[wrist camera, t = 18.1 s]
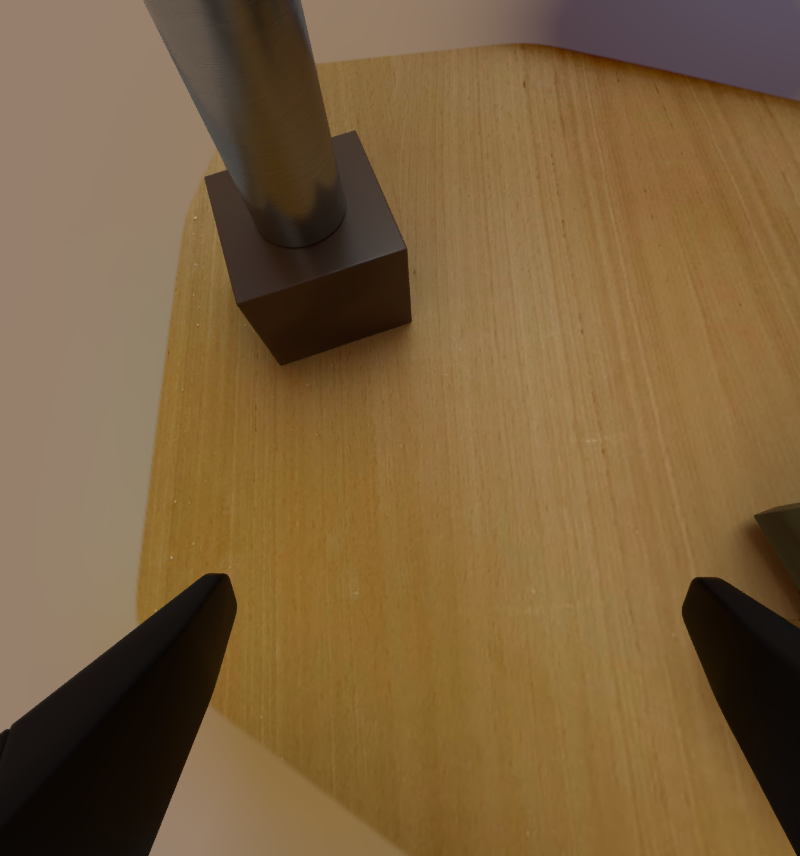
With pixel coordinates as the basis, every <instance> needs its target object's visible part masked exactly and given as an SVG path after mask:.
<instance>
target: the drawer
mask: <svg viewBox="0 0 800 856" xmlns="http://www.w3.org/2000/svg"><path fill="white" fill-rule="evenodd" d="M754 517H755V519H756V521H757V522H758V524H759V525H760V527H761V529H762V530H763V532H764V534H765V535H766V537H767V538H768V540H769V542H770V543H771V545H772V547H773V548H774V550H775V551H776V553H777V555H778V556H779V558H780V560H781V561H782V563H783V564H784V566H785V568H786V569H787V571H788V573H789V574H790V576H791V577H792V579H793V581H794V582H795V584H796V586H797V587H798V589H799V591H800V503H795V504H789V505H784V506H779V507H775V508H772V509H769V510H766V511H764V512H761V513H758V514H756V515H754ZM787 621H789V622H790V623H792V624H794V625H795V626H797V627H798V628H800V621H799V620H787Z"/></svg>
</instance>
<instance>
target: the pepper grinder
mask: <svg viewBox="0 0 800 856" xmlns="http://www.w3.org/2000/svg"><path fill="white" fill-rule="evenodd" d="M143 1H144V3H145V5H146V7H147V9H148V11H149V13H150V15H151V17H152V19H153V21H154V23H155V25H156V27H157V29H158V31H159V33H160V35H161V37H162V40H163V42H164V43H165V45H166V48H167V50H168V51H169V54H170V56H171V58H172V60H173V61H174V63H175V65H176V68H177V70H178V72H179V74H180V76H181V78H182V80H183V82H184V84H185V86H186V87H187V89H188V91H189V93H190V96H191V98H192V100H193V102H194V104H195V106H196V108H197V110H198V112H199V114H200V116H201V118H202V120H203V122H204V123H205V126H206V128H207V130H208V132H209V133H210V136H211V138H212V140H213V142H214V144H215V146H216V148H217V150H218V152H219V154H220V156H221V158H222V160H223V162H224V164H225V166H226V168H227V170H228V172H229V174H230V176H231V178H232V180H233V182H234V184H235V186H236V188H237V190H238V192H239V194H240V196H241V198H242V200H243V202H244V204H245V206H246V208H247V210H248V212H249V214H250V216H251V218H252V220H253V222H254V224H255V226H256V228H257V230H258V231H259V233H260V234H261V235H262V236H263V237H264V238H265V239H267V240H268V241H270V242H272V243H274V244H276V245H279V246H283V247H290V248H298V247H305V246H310V245H313V244H316V243H318V242H320V241H322V240H324V239H325V238H327V237H328V236H329V235H331V234H332V233H333V232H334V231H335V230H336V229H337V227H338V226H339V225H340V223H341V222H342V219H343V217H344V214H345V208H346V201H345V197H344V192H343V188H342V183H341V179H340V174H339V170H338V165H337V161H336V156H335V152H334V147H333V143H332V138H331V134H330V129H329V125H328V120H327V116H326V111H325V107H324V102H323V98H322V93H321V89H320V84H319V80H318V75H317V71H316V66H315V62H314V58H313V53H312V48H311V44H310V39H309V35H308V30H307V26H306V22H305V17H304V12H303V8H302V3H301V0H143Z"/></svg>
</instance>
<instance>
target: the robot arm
mask: <svg viewBox="0 0 800 856" xmlns="http://www.w3.org/2000/svg"><path fill="white" fill-rule="evenodd" d="M236 611H237V602H236V598H235V595H234V591H233V588H232V584H231V581H230V578H229V576H228V575H227V574H224V573H209V574H206V575H204V576H202V577H201V578H200V579H198V580H197V581H196V582H195V583H193V584H192V585H191V586H189V587H188V588H187V589H186V590H184V591H183V592H182V593H180V594H179V595H178V596H177V597H175V598H174V599H173V600H171V601H170V602H169V603H168V604H166V605H165V606H164V607H162V608H161V609H160V610H159V611H157V612H156V613H155V614H153V615H152V616H151V617H150V618H148V619H147V620H146V621H144V622H143V623H142V624H141V625H139V626H138V627H137V628H135V629H134V630H133V631H132V632H130V633H129V634H128V635H126V636H125V637H124V638H123V639H122V640H120V641H119V642H117V643H116V644H115V645H114V646H113V647H111V648H110V649H109V650H107V651H106V652H105V653H103V654H102V655H101V656H100V657H98V658H97V659H96V660H94V661H93V662H92V663H91V664H89V665H88V666H87V667H85V668H84V669H83V670H82V671H80V672H79V673H78V674H76V675H75V676H74V677H73V678H71V679H70V680H69V681H68V682H66V683H65V684H64V685H62V686H61V687H60V688H58V689H57V690H56V691H55V692H53V693H52V694H51V695H50V696H48V697H47V698H46V699H44V700H43V701H42V702H40V703H39V704H38V705H37V706H35V707H34V708H33V709H32V710H30V711H29V712H28V713H26V714H25V715H24V716H23V717H21V718H20V719H19V720H17V721H16V722H15V723H13V724H12V726H11V728H10V729H6V730H4V731H3V732H2V733H0V856H148V855H149V853H150V851H151V848H152V845H153V843H154V840H155V838H156V835H157V833H158V830H159V828H160V826H161V823H162V820H163V818H164V815H165V813H166V810H167V808H168V805H169V803H170V800H171V798H172V795H173V793H174V790H175V788H176V785H177V783H178V780H179V778H180V775H181V773H182V770H183V767H184V765H185V763H186V760H187V758H188V755H189V753H190V750H191V748H192V745H193V743H194V740H195V737H196V735H197V733H198V730H199V727H200V725H201V722H202V720H203V717H204V715H205V712H206V710H207V707H208V705H209V702H210V699H211V697H212V694H213V691H214V688H215V685H216V682H217V678H218V675H219V672H220V668H221V665H222V661H223V658H224V654H225V651H226V647H227V644H228V640H229V637H230V633H231V630H232V626H233V623H234V620H235V616H236ZM682 616H683V620H684V623H685V625H686V628H687V630H688V633H689V635H690V638H691V640H692V642H693V645H694V647H695V650H696V652H697V655H698V657H699V660H700V662H701V664H702V667H703V669H704V672H705V674H706V677H707V679H708V682H709V684H710V686H711V689H712V691H713V694H714V696H715V698H716V700H717V703H718V705H719V707H720V709H721V711H722V713H723V715H724V717H725V719H726V721H727V723H728V725H729V727H730V728H731V730H732V732H733V734H734V736H735V738H736V740H737V742H738V744H739V746H740V748H741V750H742V751H743V753H744V755H745V757H746V759H747V761H748V763H749V765H750V767H751V769H752V771H753V773H754V774H755V776H756V778H757V780H758V782H759V784H760V786H761V788H762V790H763V792H764V794H765V795H766V797H767V799H768V801H769V803H770V805H771V807H772V809H773V811H774V813H775V815H776V817H777V818H778V820H779V822H780V824H781V826H782V828H783V830H784V832H785V834H786V836H787V838H788V839H789V841H790V843H791V845H792V847H793V849H794V851H795V853H796V855H797V856H800V628H798V627H797V626H795V625H794V624H792V623H790V622H789V621H787V620H786V619H784V618H783V617H781V616H779V615H778V614H776V613H775V612H773V611H772V610H770V609H768V608H767V607H765V606H764V605H762V604H761V603H759V602H757V601H756V600H754V599H753V598H751V597H750V596H748V595H746V594H745V593H743V592H742V591H740V590H739V589H737V588H735V587H734V586H732V585H731V584H729V583H728V582H726V581H724V580H723V579H720V578H717V577H696V578H694V579H693V580H692V581H691V584H690V586H689V589H688V592H687V595H686V597H685V600H684V603H683V606H682Z"/></svg>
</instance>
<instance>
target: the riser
mask: <svg viewBox="0 0 800 856" xmlns="http://www.w3.org/2000/svg"><path fill="white" fill-rule="evenodd" d="M332 143H333V147H334V152H335V156H336V161H337V165H338V170H339V174H340V179H341V183H342V188H343V192H344V197H345V201H346V208H345V214H344V217H343V219H342V222H341V223H340V225H339V226H338V227H337V229H336V230H335V231H334V232H333V233H332V234H331V235H329V236H328V237H327V238H325V239H324V240H322V241H320V242H318V243H316V244H313V245H310V246H305V247H298V248H290V247H283V246H279V245H276V244H274V243H272V242H270V241H268V240H267V239H265V238H264V237H263V236H262V235H261V234H260V233H259V231H258V230H257V228H256V226H255V224H254V222H253V220H252V218H251V216H250V214H249V212H248V210H247V208H246V206H245V204H244V202H243V200H242V198H241V196H240V194H239V192H238V190H237V188H236V186H235V184H234V182H233V180H232V178H231V176H230V174H229V172H228V170H225V171H222V172H218V173H215V174H212V175H209V176H206V177H205V178H204V179H205V183H206V187H207V191H208V195H209V199H210V203H211V206H212V210H213V214H214V218H215V222H216V226H217V230H218V234H219V238H220V242H221V246H222V250H223V254H224V258H225V262H226V265H227V269H228V273H229V277H230V281H231V285H232V289H233V293H234V297H235V301H236V304H237V306H238V307H239V308H240V310H241V311H242V313H243V314H244V315H245V317H246V318H247V320H248V321H249V322H250V324H251V325H252V327H253V328H254V329H255V331H256V332H257V334H258V335H259V336H260V338H261V339H262V341H263V342H264V343H265V345H266V346H267V348H268V349H269V350H270V352H271V353H272V355H273V356H274V357H275V359H276V360H277V361H278V363H279V364H280V365H284V364H287V363H290V362H293V361H296V360H299V359H302V358H305V357H308V356H311V355H314V354H317V353H320V352H323V351H326V350H329V349H332V348H335V347H338V346H341V345H344V344H347V343H350V342H353V341H356V340H359V339H362V338H365V337H368V336H371V335H374V334H377V333H380V332H383V331H385V330H388V329H391V328H394V327H397V326H400V325H403V324H406V323H409V322H411V321H412V317H411V301H410V286H409V270H408V254H407V247H406V245H405V242H404V240H403V238H402V236H401V233H400V231H399V229H398V226H397V224H396V222H395V219H394V217H393V215H392V213H391V210H390V208H389V206H388V203H387V201H386V199H385V197H384V194H383V192H382V190H381V187H380V185H379V183H378V180H377V178H376V176H375V174H374V171H373V169H372V167H371V164H370V162H369V160H368V158H367V155H366V153H365V151H364V148H363V146H362V144H361V141H360V139H359V137H358V135H357V132H356V131H351V132H348V133H345V134H341V135H338V136H335V137H332Z"/></svg>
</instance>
